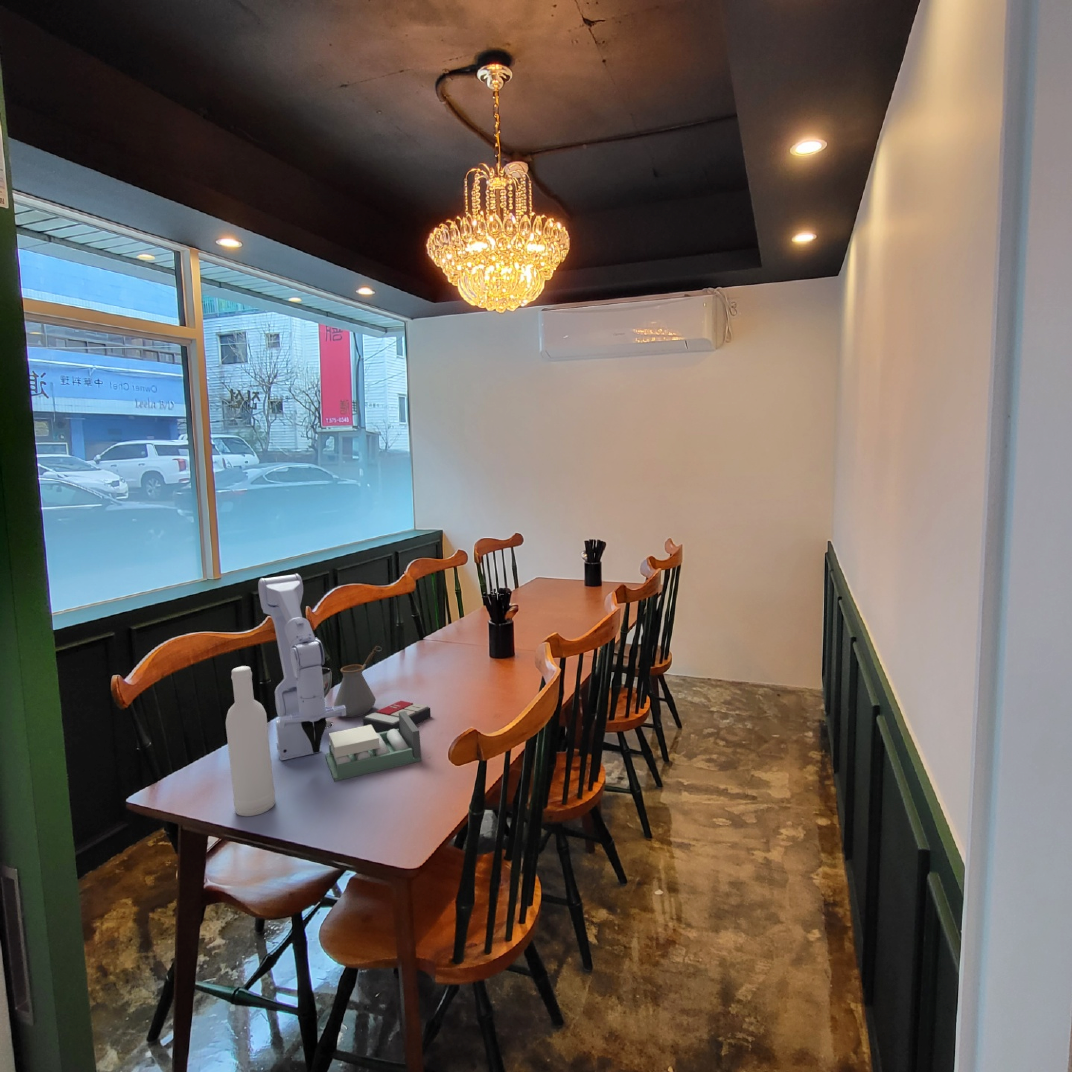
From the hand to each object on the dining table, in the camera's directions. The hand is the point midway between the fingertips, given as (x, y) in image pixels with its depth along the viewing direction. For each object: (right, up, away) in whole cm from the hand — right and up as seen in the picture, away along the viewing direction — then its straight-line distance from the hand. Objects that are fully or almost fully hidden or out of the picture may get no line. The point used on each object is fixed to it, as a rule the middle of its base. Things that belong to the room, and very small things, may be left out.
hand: (316, 750), depth 155 cm
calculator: (+13, -2, +27) cm, 30 cm away
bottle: (-8, -7, -14) cm, 18 cm away
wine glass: (-8, -2, +28) cm, 29 cm away
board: (+8, 0, +4) cm, 9 cm away
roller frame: (+11, -4, +6) cm, 13 cm away
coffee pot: (+1, 0, +41) cm, 41 cm away
